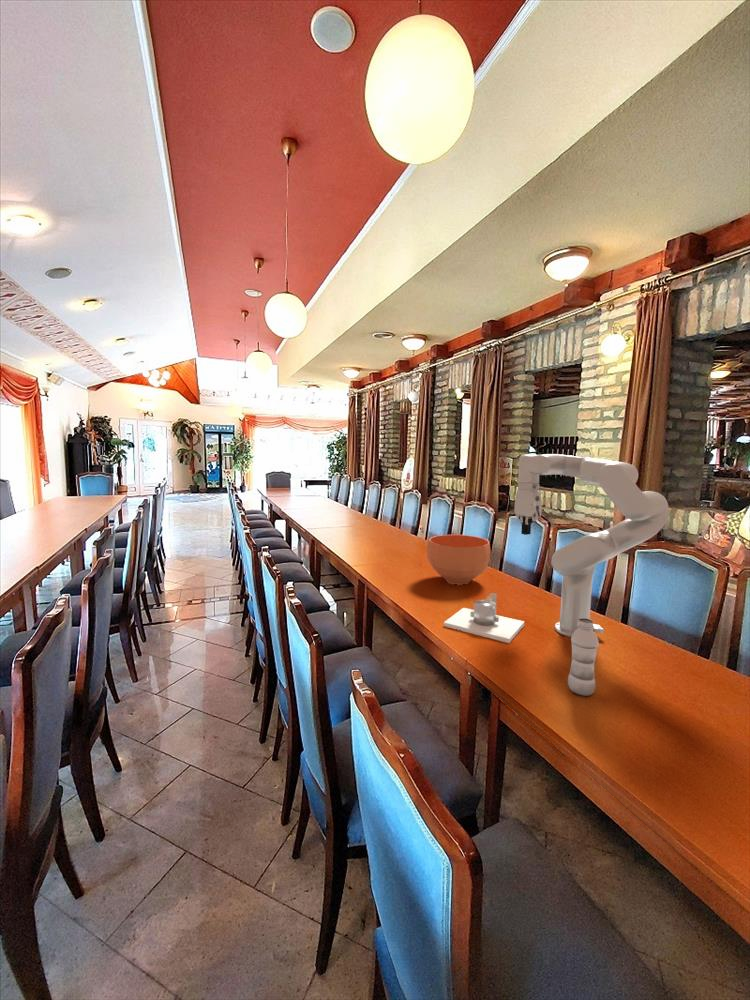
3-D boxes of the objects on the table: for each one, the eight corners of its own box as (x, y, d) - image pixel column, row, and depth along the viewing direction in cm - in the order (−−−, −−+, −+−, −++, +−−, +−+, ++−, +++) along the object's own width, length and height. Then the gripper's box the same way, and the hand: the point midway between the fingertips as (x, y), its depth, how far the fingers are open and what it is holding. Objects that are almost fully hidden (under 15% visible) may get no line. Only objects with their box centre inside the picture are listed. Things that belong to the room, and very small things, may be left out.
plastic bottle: (570, 682, 120) (575, 613, 118) (597, 691, 116) (602, 620, 114) (564, 692, 115) (568, 621, 113) (591, 702, 111) (596, 628, 109)
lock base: (524, 625, 159) (524, 621, 159) (509, 643, 144) (509, 638, 144) (463, 611, 173) (463, 607, 172) (443, 626, 158) (443, 621, 158)
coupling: (495, 627, 152) (496, 609, 152) (467, 622, 157) (468, 604, 156) (506, 612, 167) (507, 595, 166) (480, 607, 172) (480, 591, 171)
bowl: (423, 588, 200) (424, 545, 198) (430, 570, 229) (431, 533, 227) (489, 594, 193) (491, 549, 191) (488, 575, 222) (490, 536, 220)
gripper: (550, 488, 159) (548, 537, 161) (521, 485, 173) (519, 530, 175) (535, 489, 156) (533, 538, 158) (506, 485, 169) (504, 531, 172)
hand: (525, 534), depth 167 cm, fingers closed
